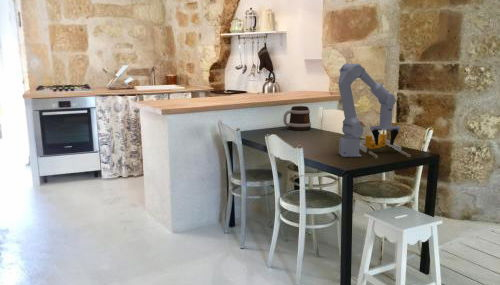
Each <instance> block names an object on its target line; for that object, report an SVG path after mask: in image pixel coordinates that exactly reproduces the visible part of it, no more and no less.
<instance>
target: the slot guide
mask: <svg viewBox="0 0 500 285" xmlns="http://www.w3.org/2000/svg"><path fill="white" fill-rule="evenodd" d="M368 154H369V155H370V156H372V157H373V158H375V159H378V158H379V157H378V154H376V153H374V152H373V151H371V150H368ZM399 154H401V155H403V156H404V155H405V157H406V156H407V157H406V158H408V157H411V156H412V155H411V154H410V153H407V152H406V151H404V150H401V151H400V152H399Z"/></svg>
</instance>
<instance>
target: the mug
mask: <svg viewBox="0 0 500 285" xmlns="http://www.w3.org/2000/svg"><path fill="white" fill-rule="evenodd" d="M310 113H311V110H310V108H309V107H308V106H305V105H304V106H303V105H294V106H292V107H291V108H290V110H286V111H285V112H284V114H283V124H284V126H286V127H288V129H289V130H290V131H296V132H297V131H298V132H301V131H302V132H303V131H304V132H306V131H310V130H311V129H312V128H311V126H312V123H311V119H310V118H311V117H310V116H311V115H310ZM289 114H290V116H289V122H287V121H288V120H287V116H288V115H289ZM309 129H310V130H309ZM305 130H306V131H305Z"/></svg>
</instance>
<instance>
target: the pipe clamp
mask: <svg viewBox="0 0 500 285" xmlns="http://www.w3.org/2000/svg"><path fill="white" fill-rule="evenodd" d="M365 140H366V142H365V144H364V146H365V147H367V149H370V150H371V149H372V150H373V149H380V148H382V147H386V146H387V145H386V140H387V134H384V133H379V138H378V145H375V142H374V141H373V140H374V138H373V135H365Z"/></svg>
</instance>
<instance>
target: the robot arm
mask: <svg viewBox="0 0 500 285" xmlns="http://www.w3.org/2000/svg"><path fill="white" fill-rule="evenodd" d="M358 79H360V80H361V81H362V82H363V83H364V84H366V85H367V86H368V87H369V88H370V93H371V94H372V95H374V96H375V97H376V98H377V99H378V103H379V104H380V108H379V109H380V111H379V112H380V114H379V125H373V126H372V125H371V126H370V128H369V129H370V131H371V133H372V137H373V140H374V139H375V145H378V139H379V137H380V134H381V133H380V131H390V132H389V133H390V140H389V141H390V144H391V145H393V143H395V140H396V137H397V136H398V134H399V133H400V131H401V126H399V125H392V124H393V123H392V122H393V110H394V107H395V106H394V105H395V104H396V102H397V99H396V97H395V95H394V94H392V93H390V91H389V90H387V89H386V88H385V87H384V84H383V83H380V82H376V81H375V80H374V78H372V77H371V75H370V74H369V73H368V72H367V70H366V68H365V67H363V65H361V64H360V63H349V62H347V63H343V65H342V66H341V68H340V69H339V78H338V81H337V82H338V84H337V85H338V90H339V95H340V100H341V105H342V110H343V115H344V119H343V121H342V129H341V130H342V131H341V132H342V133H343V135H344V137H340V138H339V142H338V143H339V144H338V145H339V146H338V154H339V155H340V156H341V157H343V158H344V157H345V158H347V157H349V158H351V157H353V158H354V157H362V156H363V155H362V154H360V149H359V147H360V140H361V137H362V136H363V134H364V128H363V126H362V125H361V121H360V120H359V118H358V117H357V113H356V107H355V102H354V95H353V90H352V86H351V85H352V84H353V83H354V82H355V81H356V80H358Z"/></svg>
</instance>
